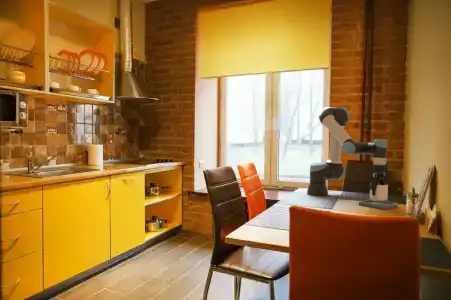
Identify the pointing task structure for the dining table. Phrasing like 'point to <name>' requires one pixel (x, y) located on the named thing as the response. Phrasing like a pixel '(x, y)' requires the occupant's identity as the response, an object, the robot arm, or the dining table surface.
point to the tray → (378, 204)
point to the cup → (381, 192)
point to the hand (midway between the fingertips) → (378, 199)
